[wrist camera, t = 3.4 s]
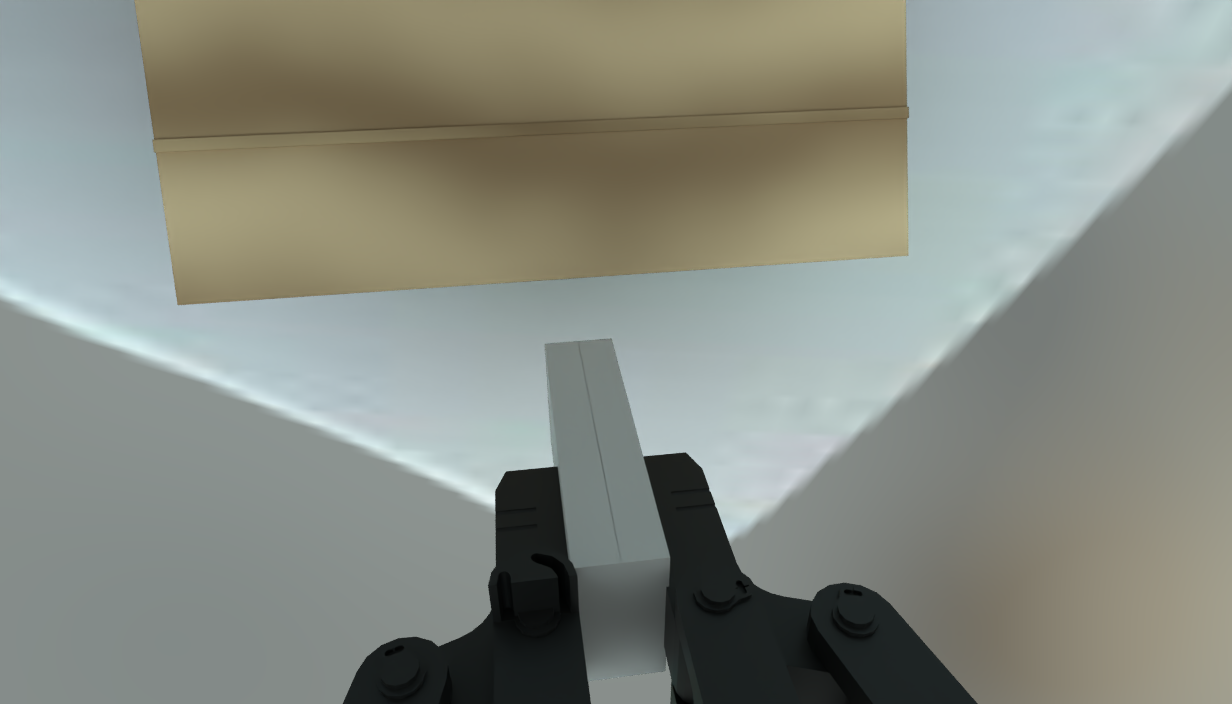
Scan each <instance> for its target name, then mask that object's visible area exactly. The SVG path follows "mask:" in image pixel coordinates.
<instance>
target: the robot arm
mask: <svg viewBox="0 0 1232 704" xmlns="http://www.w3.org/2000/svg"><path fill="white" fill-rule="evenodd" d="M545 357H546V372H547V387H548V403H549V418H550V433H551V445H552V454H553V463H554V467H548V468H538V469H527V470H517V471H507V472H506V473H505V474H504V476H503V478H502V480H501V482H500V483H499V485H498V487H497V489H496V491H495V511H496V567H495V568H494V570H493V571H492V572H491V576H490V581H489V585H488V588H489V595H490V602H491V609H492V610H491V612H490V614H489V615H488V616H487V618H486V619H485V620H484V621H483V623H482V624H480V625H479V626H478V627H477V628H475V629H474V630H473V631H472V632H470V633H468V634H466V635H464V636H462V637H460V638H458V639H456V640H453V641H451V642H449V643H446V644H444V645H441V646H439V647H438V646H437V645H436V644H435V643H433V642H432V641H429V640H426V639H422V638H419V637H408V638H398V639H396V640H393V641H391V642H388V643H386V644H384V645H381V646H380V647H379V648H377V649H376V650H375V651H374V652H372V653H371V654H370V655H369V656H367V657H366V659H365V661H364V662H363V664H362V665H361V666H360V668H359V669H358V671H357V673H356V675H355V677H354V680H353V682H352V684H351V686H350V688H349V691H348V693H347V695H346V698H345V700H344V702H343V704H591V702H590V694H589V686H588V681H594V680H602V679H610V678H617V677H625V676H633V675H640V674H647V673H655V672H663V671H665V668H666V667H665V666H666V657H667V662H668V666H669V670H670V674H671V679H672V682H671V702H670V704H977V703H976V701H975V700H974V699H973V698H972V697H971V696H970V695H969V693H967V691H966V690H965V689H964V688H963V687H962V685H961V684H960V683H959V682H958V681H957V680H956V679H955V677H954V676H953V675H952V674H951V673H950V672H949V671H948V669H947V668H946V667H945V666H944V665H943V664H942V663H941V661H940V660H939V659H938V658H937V657H936V656H935V655H934V654H933V652H932V651H931V650H930V649H929V648H928V647H927V646H926V645H925V643H924V642H923V641H922V640H921V639H920V637H919V636H918V635H917V634H916V633H915V632H914V631H913V629H912V628H911V627H910V626H909V625H908V624H907V623H906V622H905V620H904V619H903V618H902V617H901V616H900V615H899V614H898V612H897V611H896V610H895V609H894V608H893V607H892V606H891V604H890V603H889V602H887V601H886V600H885V599H884V598H882V597H881V596H880V595H879V594H878V593H877V592H874V591H872V590H870V589H868V588H866V587H863V586H861V585H855V584H849V583H840V584H834V585H829V586H827V587H825V588H824V589H822V590H820V591H819V592H817V594H816V596H815V598H814V599H813V601H809V600H802V599H796V598H790V597H783V596H780V595H776V594H772V593H769V592H767V591H765V590H762V589H760V588H759V587H757V586H756V585H754V584H753V582H752V581H751V579H750V578H749V577H747V576H746V575H745V574H743V573H742V572H741V570H740V569H739V567H738V565H737V563H736V560H735V557H734V555H733V552H732V549H731V546H730V544H729V541H728V538H727V535H726V533H725V530H724V527H723V524H722V522H721V519H720V516H719V513H718V511H717V508H716V507H715V503H714V500H713V497H712V494H711V492H710V491H709V486H708V483H707V481H706V478H705V475H704V472H703V470H702V468H701V467H700V466H699V465H698V464H697V463H696V462H695V461H694V460H693V459H692V458H691V457H690V456H689V455H688V454H687V453H675V454H665V455H655V456H644V457H643V454H642V450H641V447H640V443H639V439H638V435H637V432H636V428H635V424H634V421H633V417H632V413H631V409H630V406H629V402H628V398H627V395H626V391H625V387H624V383H623V380H622V376H621V372H620V369H619V365H618V361H617V357H616V354H615V350H614V346H613V342H612V339H600V340H587V341H574V342H562V343H549V344H545Z"/></svg>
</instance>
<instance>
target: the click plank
mask: <svg viewBox="0 0 1232 704" xmlns="http://www.w3.org/2000/svg"><path fill="white" fill-rule="evenodd" d="M135 7H136V14H137V21H138V28H139V36H140V43H141V50H142V57H143V64H144V71H145V78H146V85H147V92H148V99H149V106H150V113H151V120H152V127H153V134H154V140H153V147H154V152H155V153H156V155H157V163H158V170H159V177H160V184H161V191H162V198H163V205H164V212H165V219H166V226H167V233H168V240H169V247H170V254H171V261H172V268H173V275H174V282H175V290H176V297H177V304H178V305H186V304H201V303H216V302H231V301H245V300H260V299H275V298H290V297H304V296H319V295H334V294H349V293H363V292H378V291H393V290H408V289H422V288H437V287H452V286H467V285H482V284H496V283H511V282H526V281H541V280H555V279H570V278H585V277H600V276H614V275H629V274H644V273H659V272H673V271H688V270H703V269H718V268H732V267H747V266H762V265H777V264H791V263H806V262H821V261H836V260H850V259H865V258H880V257H895V256H908V177H907V118H909V107H907V82H906V0H135Z"/></svg>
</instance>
